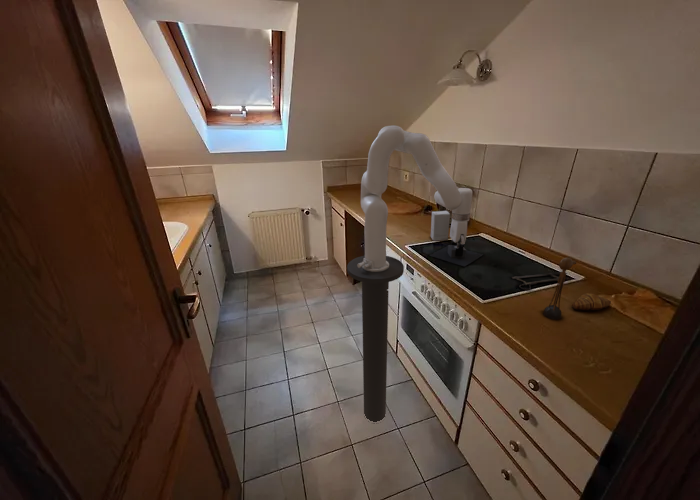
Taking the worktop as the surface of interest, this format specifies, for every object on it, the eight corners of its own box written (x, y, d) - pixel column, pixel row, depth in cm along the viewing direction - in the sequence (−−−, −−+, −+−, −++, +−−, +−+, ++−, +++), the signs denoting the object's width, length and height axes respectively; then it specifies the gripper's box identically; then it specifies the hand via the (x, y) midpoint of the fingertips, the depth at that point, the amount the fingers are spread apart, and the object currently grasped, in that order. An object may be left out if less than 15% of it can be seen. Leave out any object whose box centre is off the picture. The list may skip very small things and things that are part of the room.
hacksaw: (563, 273, 120) (564, 270, 120) (584, 286, 111) (585, 282, 110) (506, 277, 118) (507, 274, 118) (523, 290, 109) (524, 287, 108)
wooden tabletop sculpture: (554, 309, 97) (569, 253, 90) (567, 317, 93) (584, 259, 86) (539, 312, 96) (554, 256, 88) (552, 320, 92) (568, 262, 84)
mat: (464, 267, 128) (464, 266, 128) (428, 255, 141) (428, 255, 140) (483, 255, 139) (483, 254, 139) (448, 245, 152) (448, 244, 152)
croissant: (598, 299, 102) (602, 287, 100) (617, 310, 96) (622, 297, 94) (563, 304, 100) (567, 291, 98) (581, 315, 94) (585, 302, 92)
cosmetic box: (444, 236, 164) (447, 210, 158) (448, 240, 158) (451, 213, 152) (429, 237, 164) (431, 210, 158) (432, 241, 158) (434, 213, 153)
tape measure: (465, 257, 137) (466, 249, 135) (451, 257, 137) (451, 249, 136) (460, 251, 143) (461, 243, 142) (446, 251, 144) (447, 243, 142)
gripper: (447, 211, 141) (443, 246, 148) (457, 222, 125) (453, 260, 132) (463, 211, 140) (459, 246, 147) (475, 221, 124) (470, 260, 131)
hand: (456, 252), depth 139 cm, fingers closed on tape measure, 6 cm apart
